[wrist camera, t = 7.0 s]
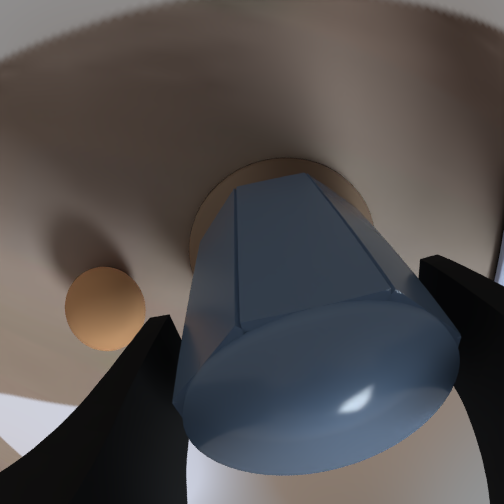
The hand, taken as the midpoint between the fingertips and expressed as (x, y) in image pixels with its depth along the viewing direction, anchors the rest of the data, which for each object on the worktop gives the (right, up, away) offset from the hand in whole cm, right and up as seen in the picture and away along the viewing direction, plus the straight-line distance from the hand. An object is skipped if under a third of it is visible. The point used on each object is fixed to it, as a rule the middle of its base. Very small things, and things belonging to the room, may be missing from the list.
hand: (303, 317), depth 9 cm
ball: (-7, 0, +2) cm, 7 cm away
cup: (0, +2, +3) cm, 4 cm away
